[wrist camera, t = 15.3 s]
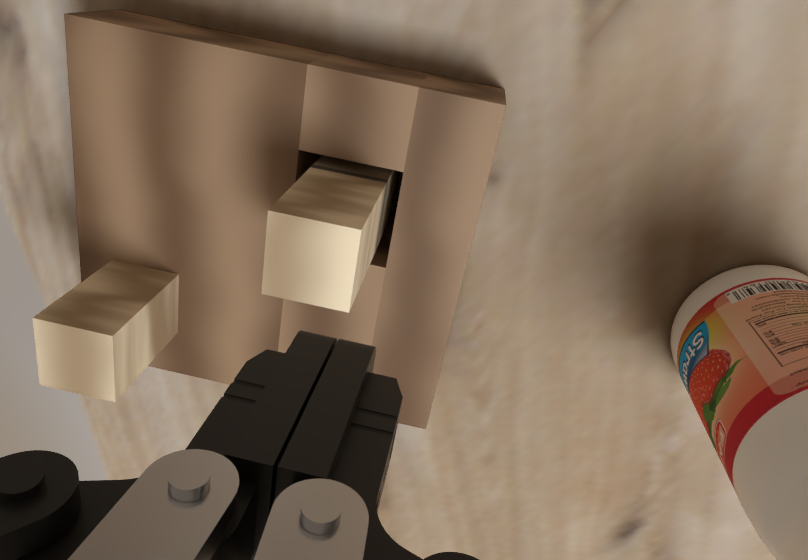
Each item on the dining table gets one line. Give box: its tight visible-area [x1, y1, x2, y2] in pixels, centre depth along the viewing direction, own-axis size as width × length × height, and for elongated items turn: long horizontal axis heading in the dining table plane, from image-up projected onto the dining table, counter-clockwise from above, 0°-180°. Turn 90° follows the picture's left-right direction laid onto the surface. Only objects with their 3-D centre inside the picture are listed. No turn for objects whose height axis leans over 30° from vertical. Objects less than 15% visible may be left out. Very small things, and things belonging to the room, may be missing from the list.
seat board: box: [33, 10, 506, 429], centre depth 33 cm, size 22×20×12 cm
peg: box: [261, 155, 398, 313], centre depth 32 cm, size 4×4×12 cm
